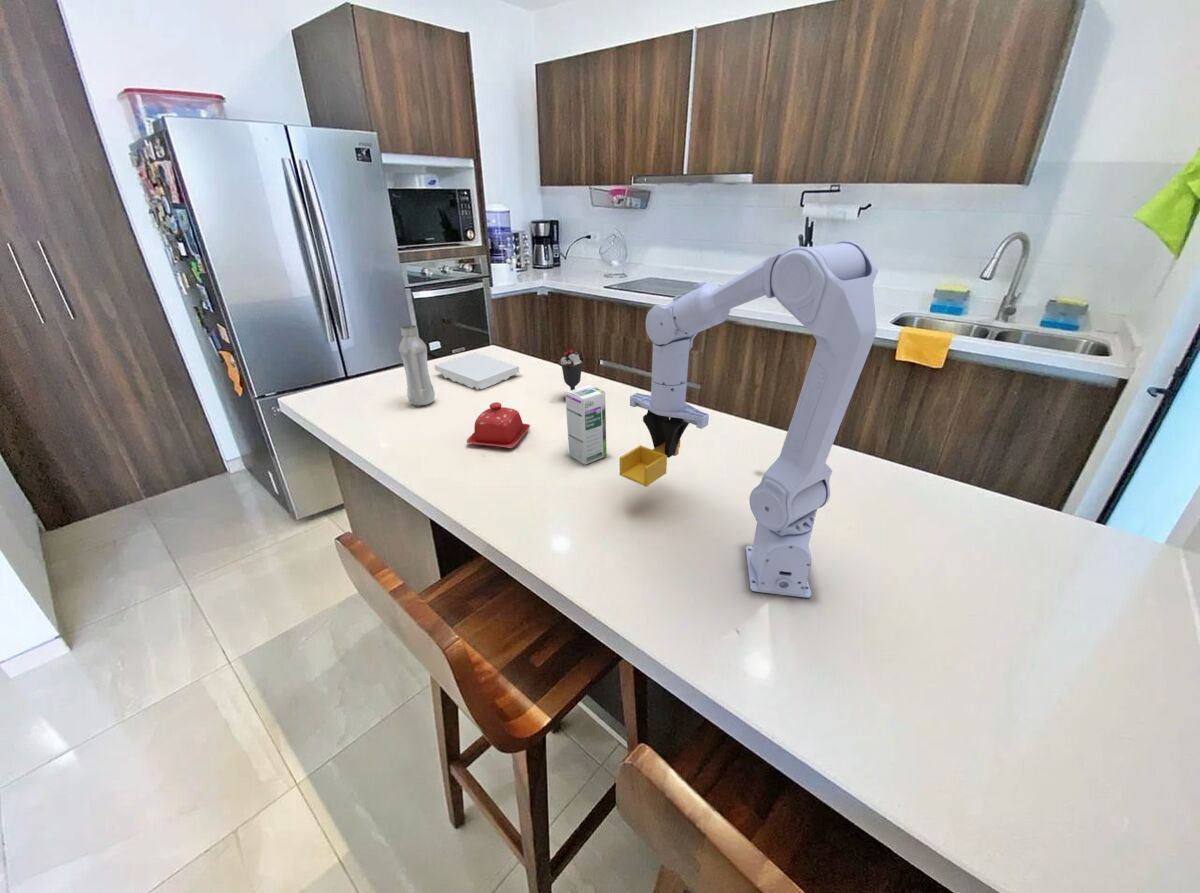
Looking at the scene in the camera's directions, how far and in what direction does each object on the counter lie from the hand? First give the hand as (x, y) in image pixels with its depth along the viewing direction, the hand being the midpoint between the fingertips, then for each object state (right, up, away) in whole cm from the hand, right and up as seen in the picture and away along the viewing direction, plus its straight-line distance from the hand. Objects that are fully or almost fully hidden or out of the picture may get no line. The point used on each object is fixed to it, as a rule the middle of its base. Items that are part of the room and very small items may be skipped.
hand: (665, 453), depth 87 cm
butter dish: (-34, +3, +25) cm, 42 cm away
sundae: (-19, +14, +44) cm, 50 cm away
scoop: (-2, -2, -1) cm, 3 cm away
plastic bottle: (-58, +12, +43) cm, 73 cm away
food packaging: (-48, +22, +61) cm, 80 cm away
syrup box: (-14, -1, +17) cm, 22 cm away
